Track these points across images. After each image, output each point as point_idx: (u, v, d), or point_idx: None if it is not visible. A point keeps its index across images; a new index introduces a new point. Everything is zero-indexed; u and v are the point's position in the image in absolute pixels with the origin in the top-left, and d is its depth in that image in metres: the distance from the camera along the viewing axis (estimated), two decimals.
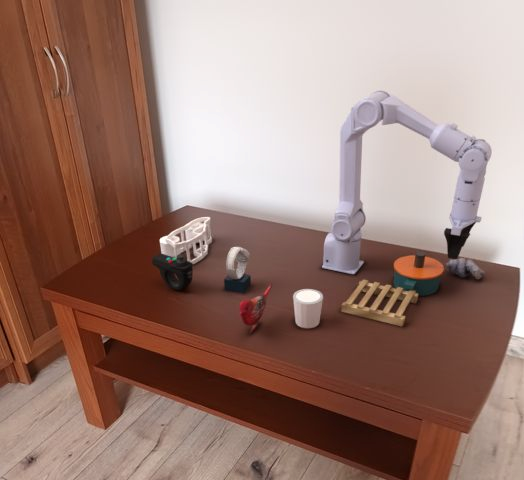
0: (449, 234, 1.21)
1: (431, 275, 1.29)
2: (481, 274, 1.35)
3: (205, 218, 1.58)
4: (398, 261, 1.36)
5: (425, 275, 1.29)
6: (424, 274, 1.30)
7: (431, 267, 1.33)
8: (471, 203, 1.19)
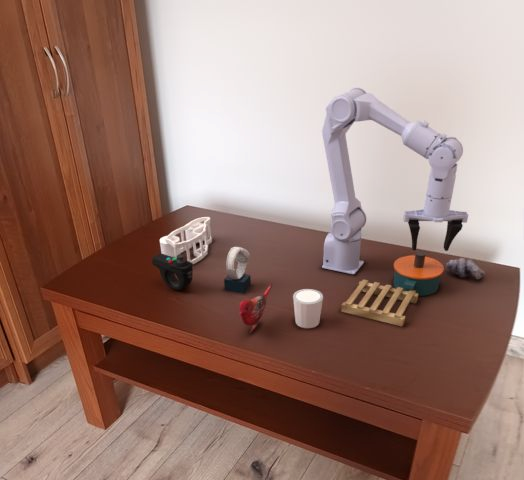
0: None
1: (431, 275, 1.29)
2: (481, 274, 1.35)
3: (205, 218, 1.58)
4: (398, 261, 1.36)
5: (425, 275, 1.29)
6: (424, 274, 1.30)
7: (431, 267, 1.33)
8: (429, 198, 1.21)
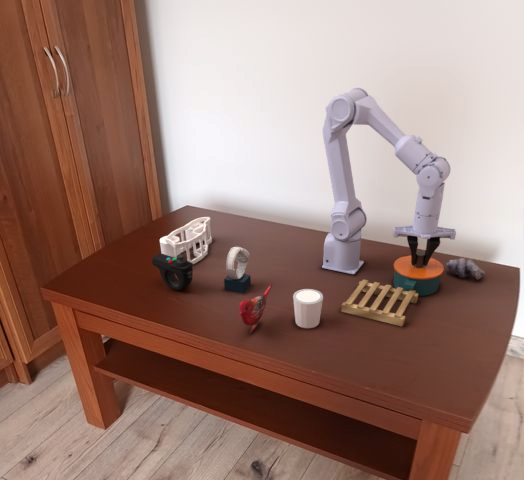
0: None
1: (431, 275, 1.29)
2: (481, 274, 1.35)
3: (205, 218, 1.58)
4: (398, 261, 1.36)
5: (425, 275, 1.29)
6: (424, 274, 1.30)
7: (431, 267, 1.33)
8: (417, 215, 1.24)
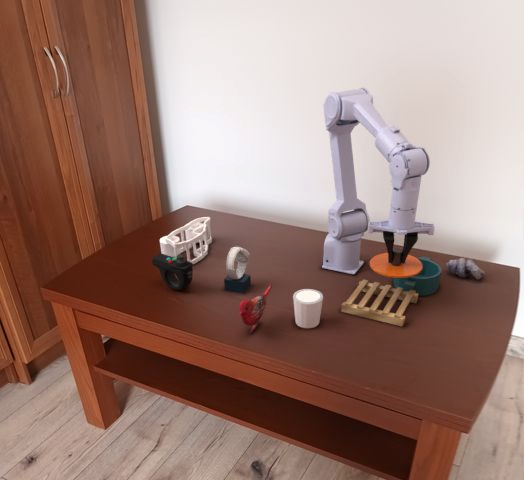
0: None
1: (409, 273, 1.21)
2: (481, 274, 1.35)
3: (205, 218, 1.58)
4: (375, 259, 1.28)
5: (403, 273, 1.21)
6: (402, 272, 1.22)
7: (409, 265, 1.24)
8: (392, 209, 1.16)
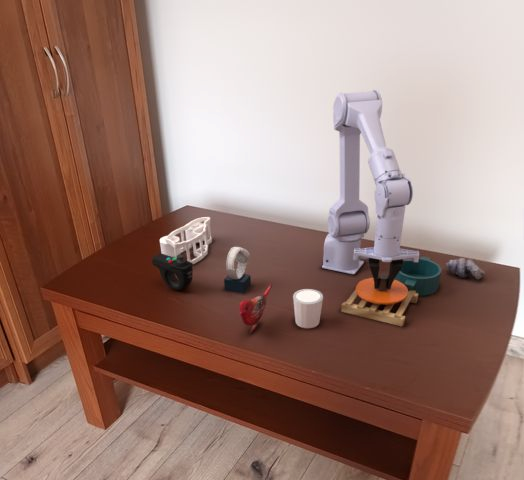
0: None
1: (394, 300, 1.22)
2: (481, 274, 1.35)
3: (205, 218, 1.58)
4: (361, 284, 1.28)
5: (388, 300, 1.22)
6: (387, 299, 1.22)
7: (395, 291, 1.25)
8: (377, 237, 1.17)
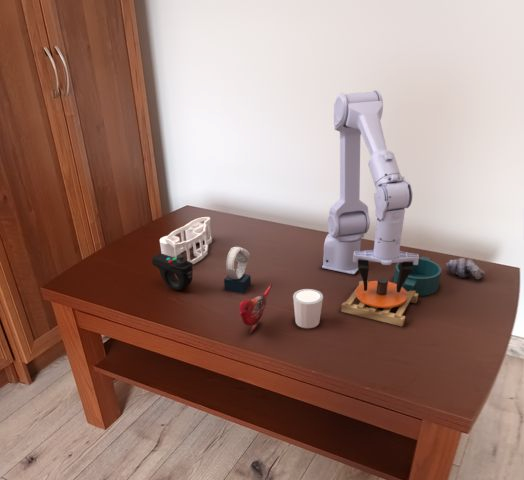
0: None
1: (393, 303, 1.22)
2: (481, 274, 1.35)
3: (205, 218, 1.58)
4: (360, 287, 1.29)
5: (387, 303, 1.22)
6: (386, 302, 1.23)
7: (394, 294, 1.26)
8: (377, 240, 1.17)
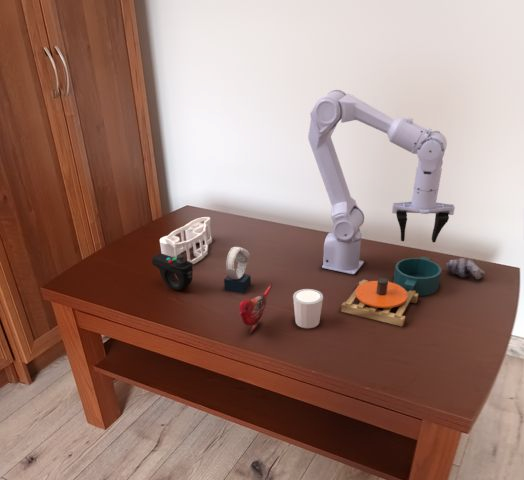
0: None
1: (393, 303, 1.22)
2: (481, 274, 1.35)
3: (205, 218, 1.58)
4: (360, 287, 1.29)
5: (387, 303, 1.22)
6: (386, 302, 1.23)
7: (394, 294, 1.26)
8: (416, 190, 1.25)
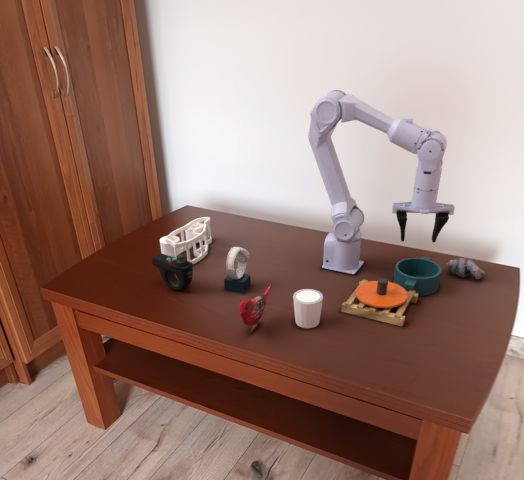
0: None
1: (393, 303, 1.22)
2: (481, 274, 1.35)
3: (205, 218, 1.58)
4: (360, 287, 1.29)
5: (387, 303, 1.22)
6: (386, 302, 1.23)
7: (394, 294, 1.26)
8: (416, 190, 1.25)
